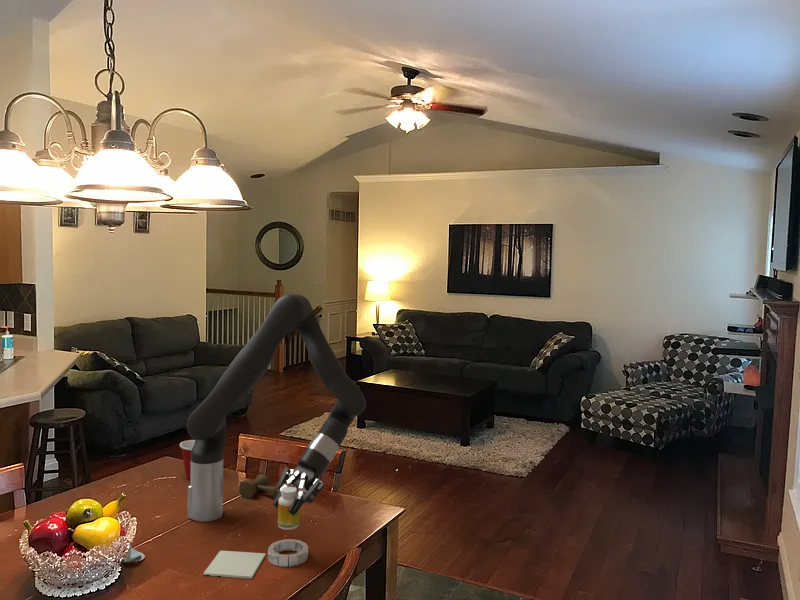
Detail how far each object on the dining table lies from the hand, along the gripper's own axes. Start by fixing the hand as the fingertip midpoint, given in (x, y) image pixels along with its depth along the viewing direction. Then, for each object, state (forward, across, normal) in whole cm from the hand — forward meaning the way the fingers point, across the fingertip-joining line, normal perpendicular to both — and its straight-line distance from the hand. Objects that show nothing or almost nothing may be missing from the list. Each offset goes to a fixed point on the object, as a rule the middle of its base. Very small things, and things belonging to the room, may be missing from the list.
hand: (283, 510), depth 168 cm
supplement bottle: (+2, 0, +5) cm, 5 cm away
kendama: (-7, -37, +26) cm, 46 cm away
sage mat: (+17, -6, +2) cm, 18 cm away
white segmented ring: (+8, 0, +10) cm, 13 cm away
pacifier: (+28, -27, -9) cm, 40 cm away
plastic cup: (-2, -67, +22) cm, 70 cm away
